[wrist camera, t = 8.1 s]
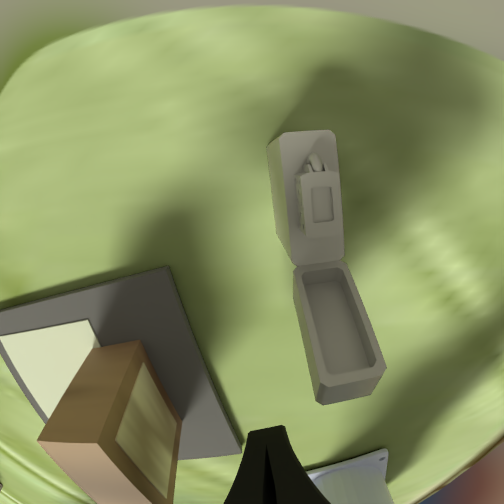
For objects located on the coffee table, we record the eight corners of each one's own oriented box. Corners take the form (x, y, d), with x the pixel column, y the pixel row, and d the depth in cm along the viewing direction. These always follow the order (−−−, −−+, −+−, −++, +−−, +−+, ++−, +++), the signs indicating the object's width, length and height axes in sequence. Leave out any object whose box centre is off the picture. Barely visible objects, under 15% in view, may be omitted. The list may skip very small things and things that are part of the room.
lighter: (265, 143, 13) (303, 112, 5) (305, 139, 13) (390, 111, 5) (282, 297, 15) (321, 420, 7) (318, 292, 15) (383, 406, 7)
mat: (241, 446, 18) (241, 454, 17) (75, 452, 18) (72, 458, 17) (168, 265, 14) (165, 270, 13) (-13, 313, 14) (-19, 317, 14)
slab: (183, 421, 16) (172, 521, 9) (138, 426, 16) (115, 518, 9) (141, 339, 14) (98, 443, 8) (92, 348, 14) (36, 440, 8)
